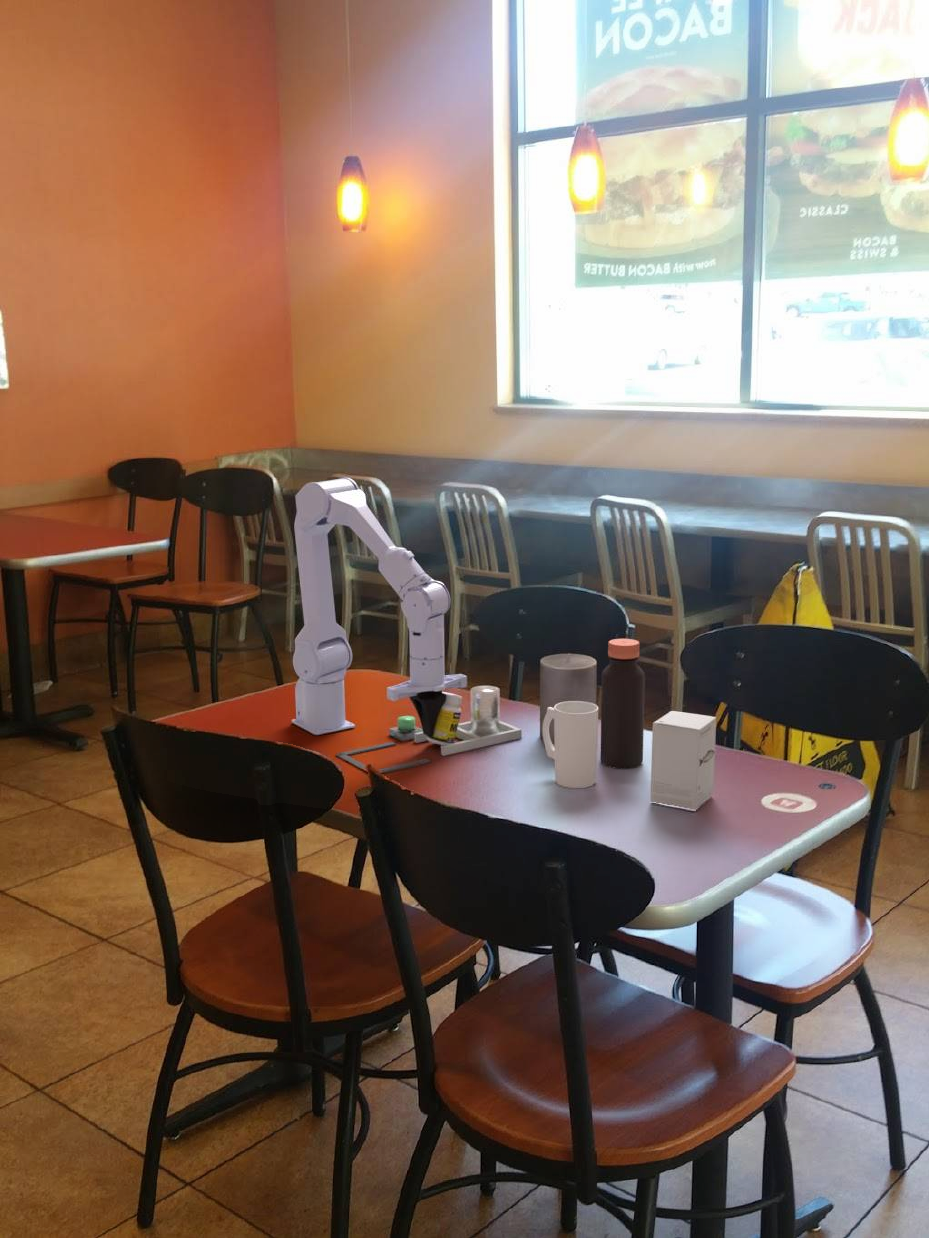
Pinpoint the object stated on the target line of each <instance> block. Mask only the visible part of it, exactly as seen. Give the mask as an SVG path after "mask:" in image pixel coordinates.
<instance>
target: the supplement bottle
mask: <svg viewBox="0 0 929 1238" xmlns="http://www.w3.org/2000/svg"><path fill="white" fill-rule="evenodd" d="M442 693H444V694H446V701H445V703H444V704H443V706H442V708H441V710H440V712H439V715H438V718H437V721H436V724H435V729H434V734H433V736H427V737H426V739H427V740H428V741H427V742H429V743H432V744H436V745H439V746H443V745H447V744H452V743H455V740H456V737H455V736H456V732H457V728H458V724H460V719H461V715H462V709H461V708H460V706H462V704H463V696H461V695H458V694H456V693H451V692H445V691H442Z"/></svg>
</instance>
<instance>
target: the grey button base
mask: <svg viewBox="0 0 929 1238" xmlns="http://www.w3.org/2000/svg"><path fill="white" fill-rule="evenodd" d="M388 729H389V730H388V732H389V733H388V735H389V736H390V737H392V738H394V739H396V740H398V741H401V742H407V741H410V740H411V741H412V740H414V733H418V732H422V731H423V729H422V727H421V728H420V727H418V726H416V725H415V728H413V729H412V731H408V732H403V731H401V729H399V728H398V726H394V727H390V728H388Z"/></svg>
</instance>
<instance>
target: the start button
mask: <svg viewBox="0 0 929 1238" xmlns="http://www.w3.org/2000/svg"><path fill="white" fill-rule="evenodd" d="M415 726H416V717H414V716H412V715H403V716H399V717H397V727H398V728H399V729H401V731H403V732H408V731H412V729H413V728H415Z"/></svg>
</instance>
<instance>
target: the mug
mask: <svg viewBox="0 0 929 1238" xmlns="http://www.w3.org/2000/svg"><path fill="white" fill-rule="evenodd" d="M553 718H554V741H555V745H553V744H552V742H551V739H550V735H549V725H550V722H551V720H552V719H553ZM598 729H599V706H598V705H597V704H596V705H595V704H593V703H589V702H583V701H567V702H561V703H558V704H556V705H555V706H554V708H552V707H548V708H547V713H546V715H545V718H544V721H543V728H542V731H543V739H544V741H543V743H544V746H545V751H546V755H547V757H548V758H550V759H553V760H554V779H555V780H554V781H555V782H556V784H557V785H559V786H560V787H564V788H569V789H585V788H588V787H589V786H590V787H592V786H594V785H595V784H594V783H596V779H597V764H598V763H597V762H598V761H597V760H598V758H597V757H598V739H599V738H598V735H599V732H598V731H599V730H598ZM593 784H594V785H593ZM590 787H589V788H590Z"/></svg>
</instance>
